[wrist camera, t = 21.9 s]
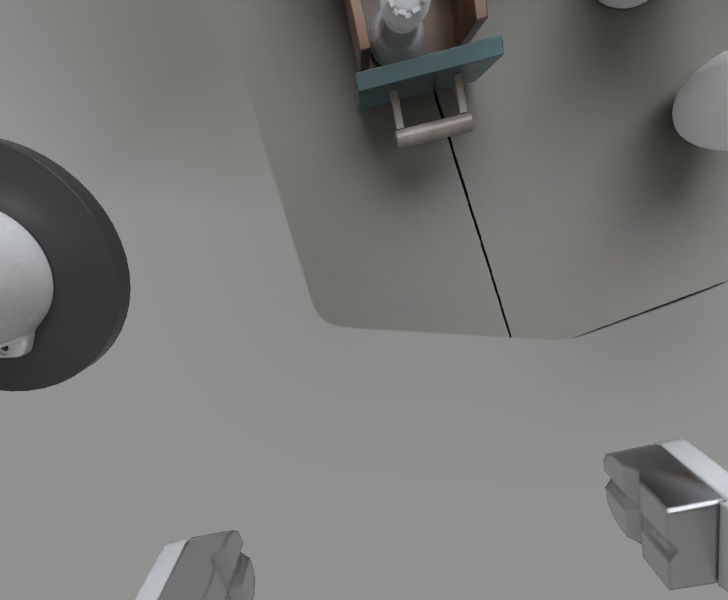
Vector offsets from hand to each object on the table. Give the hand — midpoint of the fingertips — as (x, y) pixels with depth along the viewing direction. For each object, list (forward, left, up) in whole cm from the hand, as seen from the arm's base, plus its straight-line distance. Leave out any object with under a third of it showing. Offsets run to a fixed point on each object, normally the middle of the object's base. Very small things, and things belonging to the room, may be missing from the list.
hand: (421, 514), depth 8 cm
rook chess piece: (+6, +18, -29) cm, 35 cm away
